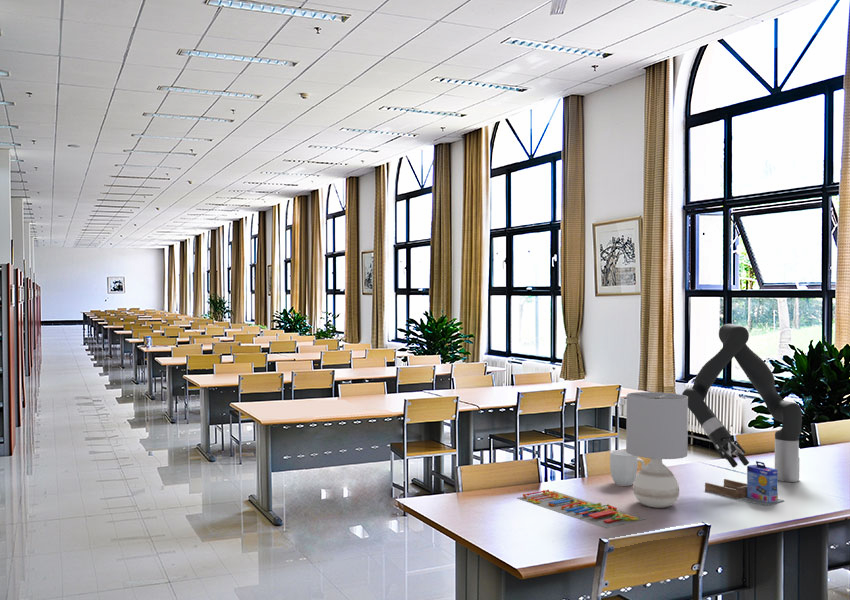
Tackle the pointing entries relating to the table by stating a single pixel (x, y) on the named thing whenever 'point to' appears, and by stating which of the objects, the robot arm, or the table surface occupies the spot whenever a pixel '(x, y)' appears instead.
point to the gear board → (580, 508)
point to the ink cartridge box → (762, 483)
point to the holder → (729, 488)
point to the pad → (760, 501)
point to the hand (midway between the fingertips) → (741, 465)
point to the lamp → (656, 443)
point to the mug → (623, 467)
